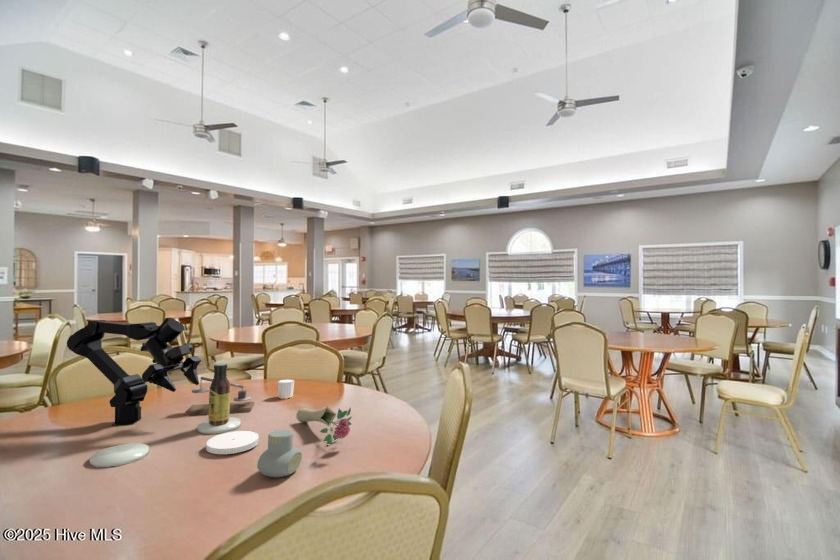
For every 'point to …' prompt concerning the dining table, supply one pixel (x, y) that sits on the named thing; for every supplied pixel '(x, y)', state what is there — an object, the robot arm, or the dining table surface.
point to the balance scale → (233, 406)
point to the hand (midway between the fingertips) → (186, 387)
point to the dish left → (119, 455)
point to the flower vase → (327, 421)
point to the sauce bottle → (219, 396)
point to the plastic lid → (232, 442)
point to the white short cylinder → (285, 388)
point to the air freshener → (279, 455)
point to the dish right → (219, 426)
